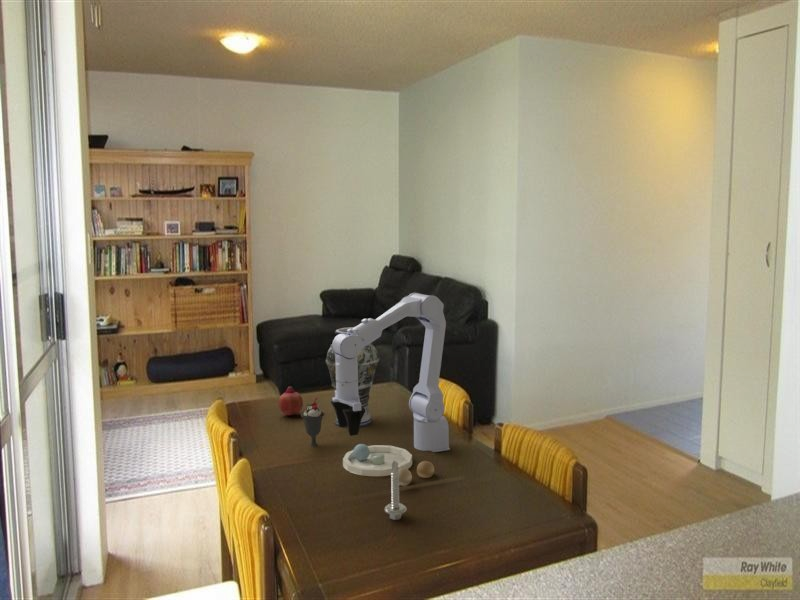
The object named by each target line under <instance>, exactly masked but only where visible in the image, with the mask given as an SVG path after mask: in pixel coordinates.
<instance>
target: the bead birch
mask: <svg viewBox="0 0 800 600" xmlns="http://www.w3.org/2000/svg"><path fill="white" fill-rule="evenodd" d="M398 471H399V473H398V474H399V487H400V488H401V487H407V486H409V485H410V484H411V482H412V480H413V476H412V473H411V471H410V470H409V469H406V468H400V469H398Z"/></svg>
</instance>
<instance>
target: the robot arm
mask: <svg viewBox="0 0 800 600" xmlns="http://www.w3.org/2000/svg"><path fill="white" fill-rule="evenodd" d="M444 306H445V304H444V303H443V302H442V301H441V300H440V299H439V297H438V296H436V295H428V294H423V293H419V292H411V293H409V295H406V296H404V297H403V298H401V300H400V301H399V302H397V303H396V304H395V305H393V306H392V307H390V308H389V309H387V310H386V311H385V312H383V314H381V315H379V316H378V317H377V318H375V319H374V318H372V317H369V318H363V319H361V322H360V323H359V324H358V325H356V326H353V327H354V328H353V329H348V330H347V333H346V334H344V333H343V334H342V333H341V334H338V335H336V336H334V339H332V342H331V343H332V344H330V347H331V349H332V351H333V352H334V354H335V365H336V390H334V396H333V397H331V399H332V400H331V401H330V404H331V405H332V406H333V409H334V412H335V416H336V415H337V419H338V423H339V426H340V427H339V426H338V427H339V428H344V427H346V426H348V428H347V431H348V435H349V436H351V437H352V436H358V435H359V432H360V428H361V427H360V423H361V419H362V417H363V415H364V413H365V409H364V408H361V403H360V399H359V395H358V362H357V356H358V355H359V354H360V352H361V349H362V348H364V347H365V346H367V345H368V344H370V343H371V344H372V343H373V342H374V341H376V340H377V339H379V338H380V337H382V332H383V330H385V329H387V328H388V327H390V326H393V325H394V324H396V323H397V322H399V321H401V320H403V319H404V318H406V317H414V318H415V319H417V320H418V321H419V322H420V323H421V325H423V326H424V327H425V329H424V330H425V332H424V339H423V340H424V341H423V347H422V353H421V354H422V355H421V363H420V371H419V379H418V383H416V385H415V386H414V387H413V389H412V394H411V396H410V397H409V401H408V407H409V409H410V411H411V412H412V416H413V447H414V449H416V450H419V451H424V452H425V451H427V452H428V451H429V452H433V453H439V452H440V453H441V452H445V451H450V450H451V448H450V437H449V435H450V431H449V428H450V427H449V422H448V420H447V418H446V417H445V416H444V413H445V404H444V394H443V391H442V390H441V388H440V386H439V383H440V375H441V374H440V373H441V368H442V360H443V359H442V357H443V351H444V342H445V335H446V334H445V333H446V326H447V321H446V317H445V314H444V308H445V307H444Z"/></svg>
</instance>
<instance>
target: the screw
mask: <svg viewBox="0 0 800 600" xmlns="http://www.w3.org/2000/svg"><path fill="white" fill-rule="evenodd" d="M398 473H399V471H398V462H396V461H393V462H392V473H391V474H392V475H390V477H391V478H390V482H391V483H390V490H391V491H390V495H391V496H390V500H391V501H390V503H388V504H387V505H385V507H384V513H386V514H389V519H390V520H393V521H397V520H398V521H399V520H400V519H401V518H402V515H403V514H404V513H405V512H407V506H406V505H404V504H403V503H401V502H400V485H399V474H398Z"/></svg>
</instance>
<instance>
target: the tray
mask: <svg viewBox="0 0 800 600" xmlns="http://www.w3.org/2000/svg"><path fill="white" fill-rule="evenodd" d="M366 446H367V447H368V448H369V451H370V454H369V457H368V458H367V459H366V460H363V461H359V460H357V459H356V458H355V457H354V455H353V450H354V449H352V450H349V451H347V452H345V454H344V457H342V467H343V468H344V469H345V470H346V471H348V472H349V473H352V474H355V475H357V476H365V477H387V476H391V475H392V474H391V473H392V462H393V461H396V462H398V469H400V468H406V469H408V470H409V469H410V468H411V467H412V465H413V454H411V453H410V451H408V450H407V449H405V448H402V447H398V446H393V445H379V444H378V445H377V444H375V445H374V444H373V445H372V444H371V445H366Z"/></svg>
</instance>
